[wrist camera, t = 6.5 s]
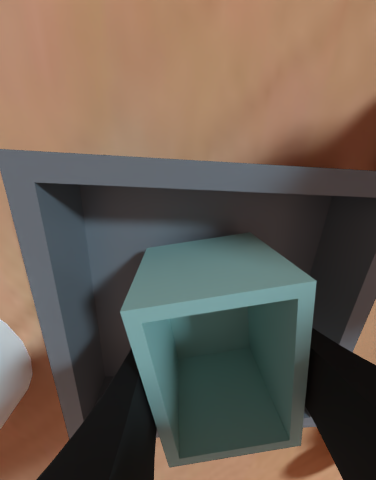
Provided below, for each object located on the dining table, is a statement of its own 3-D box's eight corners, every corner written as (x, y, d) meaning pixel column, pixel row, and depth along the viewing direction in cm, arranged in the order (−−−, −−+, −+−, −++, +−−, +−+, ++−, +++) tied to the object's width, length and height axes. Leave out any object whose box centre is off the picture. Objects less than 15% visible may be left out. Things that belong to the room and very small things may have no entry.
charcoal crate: (342, 175, 11) (429, 174, 7) (286, 368, 16) (320, 426, 12) (63, 159, 10) (-5, 148, 6) (96, 375, 15) (70, 443, 11)
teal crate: (250, 232, 10) (316, 281, 5) (253, 344, 13) (300, 445, 8) (147, 248, 10) (119, 311, 5) (171, 357, 12) (169, 467, 8)
